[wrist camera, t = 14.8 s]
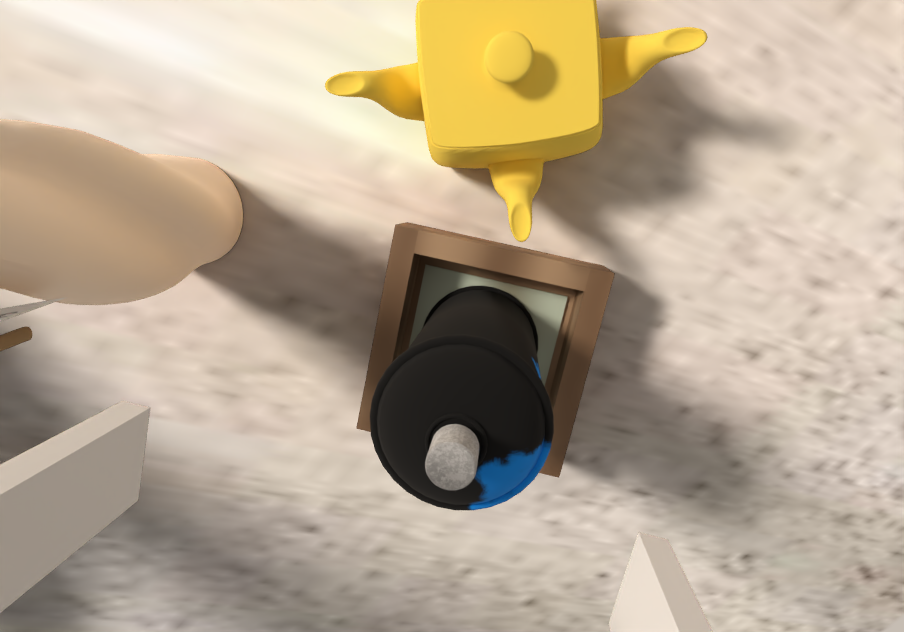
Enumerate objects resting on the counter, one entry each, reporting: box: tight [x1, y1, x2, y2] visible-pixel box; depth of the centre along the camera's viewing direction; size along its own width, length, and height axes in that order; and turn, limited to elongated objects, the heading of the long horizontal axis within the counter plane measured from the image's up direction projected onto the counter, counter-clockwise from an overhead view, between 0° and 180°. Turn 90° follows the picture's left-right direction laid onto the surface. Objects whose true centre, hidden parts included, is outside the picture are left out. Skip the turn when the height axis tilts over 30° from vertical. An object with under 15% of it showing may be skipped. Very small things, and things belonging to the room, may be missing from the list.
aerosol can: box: [370, 286, 554, 510], centre depth 32 cm, size 8×8×20 cm
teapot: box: [325, 0, 707, 242], centre depth 35 cm, size 15×14×10 cm
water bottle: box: [0, 119, 243, 351], centre depth 29 cm, size 10×9×28 cm
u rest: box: [357, 222, 615, 477], centre depth 41 cm, size 14×14×4 cm
